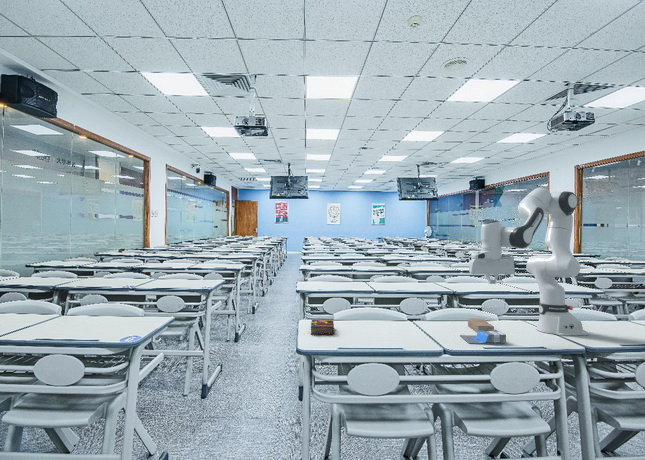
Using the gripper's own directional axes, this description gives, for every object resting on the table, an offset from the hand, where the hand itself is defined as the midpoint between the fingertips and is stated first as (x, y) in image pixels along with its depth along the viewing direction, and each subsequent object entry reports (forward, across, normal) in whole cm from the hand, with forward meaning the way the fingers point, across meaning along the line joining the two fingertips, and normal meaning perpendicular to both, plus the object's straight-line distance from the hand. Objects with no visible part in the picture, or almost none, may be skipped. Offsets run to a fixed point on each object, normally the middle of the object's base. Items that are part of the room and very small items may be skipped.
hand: (492, 283), depth 175 cm
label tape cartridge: (+24, -2, +4) cm, 24 cm away
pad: (+26, +7, +3) cm, 27 cm away
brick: (+27, -1, -17) cm, 32 cm away
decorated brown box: (+24, +81, -8) cm, 85 cm away
